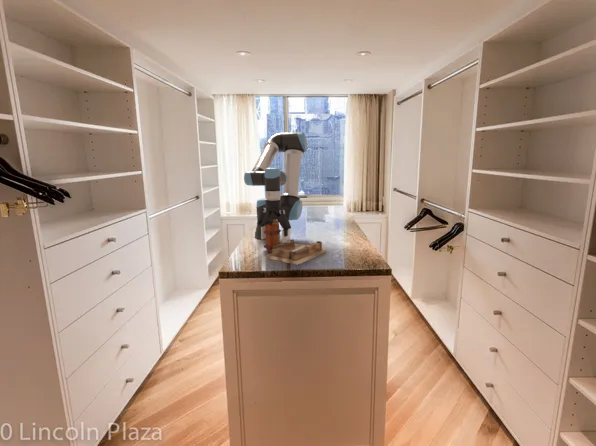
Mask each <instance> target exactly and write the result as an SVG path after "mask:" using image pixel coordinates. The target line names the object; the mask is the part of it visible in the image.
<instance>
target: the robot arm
mask: <svg viewBox="0 0 596 446" xmlns="http://www.w3.org/2000/svg"><path fill="white" fill-rule="evenodd" d="M307 152H308V141H307V136H306V134H305V133H304V132H303V131H302V132H301V131H300V132H299V131H295V132H292V131H291V132H279V133H275V134H274V135H271V136H270V137H269V138H268V139H267V140H266V141H265V143H264V145H263V150H262V152H261V153H260V155H259V157H258V159H257V160H256V162H255V164H254V165H253V168H252V170H250V171H249V170H248V171H245V172H244V175H243V180H244V183H245V185H246V186H252V187H255V186H256V187H258V186H259V187H260V186H263V187H264V186H265V187H264V189H265V191H264V194H265V195H264V196H265V197H264V198H260V199H258V200H256V206H255V207H256V222H257V223H256V227H255V232H254V238H256V239H259V240H266V234H265V233H264V231H265V230H266V225H267V224H269V223H271V224H272V223H273V221H274V220H278V222H279V226H281V228H282V230H281V232H280V233H279V237H282V240H281V243H285V242H287V241H288V231H289V230H290V229H292V226H291V225H292V224H291V222H290V221H297V220H300V217H301V215H302V211H303V200H301V198H300V196H299V195H298V194H299V185H300V184H299V181H300V174H301V173H300V171H301V160H302V158H303V157H304V155H305V153H307ZM279 153H284V155H285V156H286V162H285V170H284V171H282V170H281V169H280V167H271V165H272V163H273V161H274V159H275V157H276V156H277V155H278V154H279ZM282 186H283V192H282V194H281V187H282Z"/></svg>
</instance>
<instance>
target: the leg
mask: <svg viewBox="0 0 596 446" xmlns="http://www.w3.org/2000/svg"><path fill="white" fill-rule="evenodd" d="M305 248H309V254H311V253H314V252H316V251H319V250H322V248H323V242H322V241H321V240H318V241H315V242H313V243H311V244H307V246H305Z"/></svg>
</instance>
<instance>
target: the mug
mask: <svg viewBox="0 0 596 446" xmlns="http://www.w3.org/2000/svg"><path fill="white" fill-rule="evenodd" d="M264 233H265V234H266V239H265V240H266V243H265V244H264V246H263V247H264V248H265V249H266V252H267V253H269V254H271V253H272V249H273V246H275V245H278V244H281V243H282V242H281V241H280V236H279V233H280V234H281V233H282V230H281V229H280V223H279V222H278V220H274V221H273V223H272V224H271V223H269V224H267V225H266V230H265V231H264Z"/></svg>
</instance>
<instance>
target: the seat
mask: <svg viewBox="0 0 596 446" xmlns="http://www.w3.org/2000/svg"><path fill="white" fill-rule="evenodd" d="M280 243H281V244H278V245H275V246H273V249H272V253H268V254H266V259H269V260H273V261H278V262H283V263H287V264H290V263H291V265H295V264H297V265H296V266H299V265H301V264H303V263H305V262H307V261H310V260H312V259H314V258H316V257H318V256H320V255H322V254H325V253H327V248H324V247H322V250H319V251H316V252H314V253H311V254H309V248H305V246H307V245H308V244H307V245H306V244H300V243H296V241H295V239H289V240H287V242H285V243H282V242H280ZM298 264H299V265H298Z"/></svg>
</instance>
